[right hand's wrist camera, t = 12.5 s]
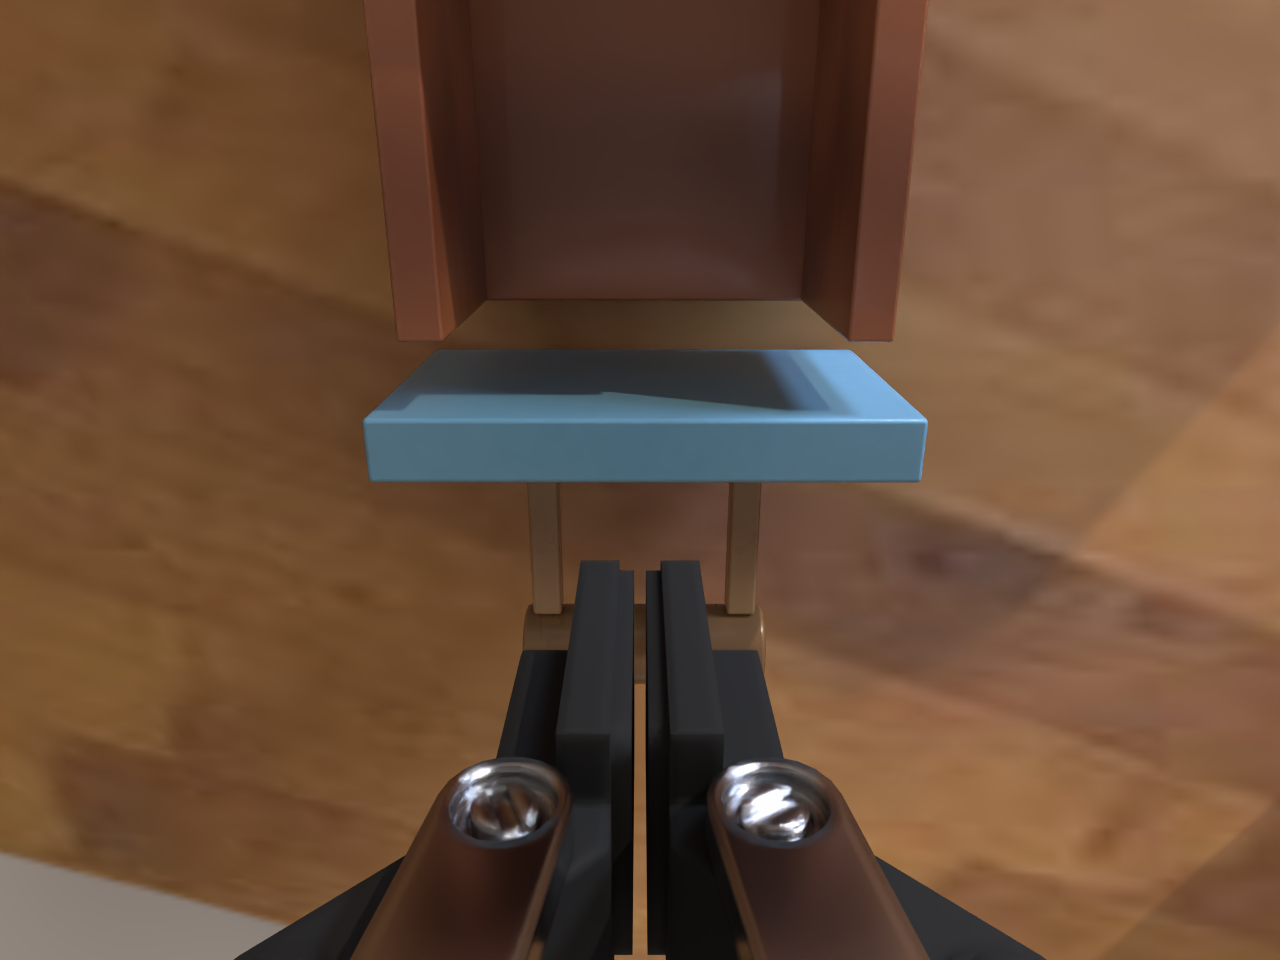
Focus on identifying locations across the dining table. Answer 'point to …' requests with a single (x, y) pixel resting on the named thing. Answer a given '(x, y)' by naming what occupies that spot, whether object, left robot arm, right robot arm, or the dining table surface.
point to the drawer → (645, 249)
